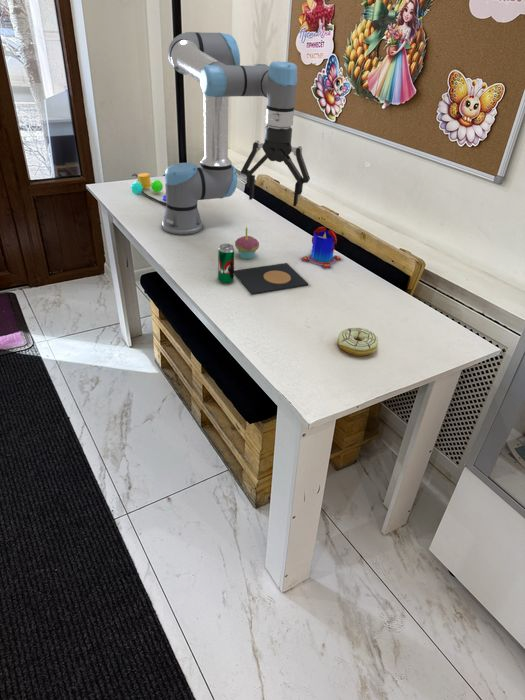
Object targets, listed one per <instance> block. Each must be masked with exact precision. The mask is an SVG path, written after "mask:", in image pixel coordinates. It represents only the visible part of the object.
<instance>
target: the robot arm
mask: <svg viewBox="0 0 525 700" xmlns="http://www.w3.org/2000/svg"><path fill="white" fill-rule="evenodd" d="M240 53H241V52H240V49H239V45H238V43H237V41H236V39H235V37H234V36H233V35H232V34H229V33H223V32H200V31H199V32H196V31H186V32H182V33H180V34H178V35H177V36H175V37H174V38H173V39H172V40H171V41H170V43H169V46H168V49H167V59H168V61H169V64H170V65H171V67H172V68H173V69H174V70H175V72H178V73H179V74H180V75H181V74H182V75H186V76H187V75H188V76H189V77H191V78H192V79H194V80H196V81H197V82H198V83H200V89H201V91H202V93H203V147H204V148H203V153H204V154H203V155H204V156H203V157H202V158H201V160H200V161H199V163H200V164H199V165H200V166H197V165H196V164H195V163H192V162H177V163H174V164H172V165H170V166H168V167H167V168H166V169H165V171H164V186H165V189H164V190H165V195H166V201H163V200H159V199H157V198H155V197H153V196H150V195H149V194H147V193H146V192H144V191H143V190H142V192H141V193H140V194H142V195H144V196H145V197H147V198H148V199H151V200H152V201H155V202H157V203H160V204H162V205H164V206H165V210H164V211H165V212H164V215H163V218H162V222H161V225H162V229H163V231H165V232H166V233H169V234H172V235H177V236H179V235H180V236H187V235H194V234H196V233H199V232H200V231H202V229H203V221H202V217H201V215H200V212H199V208H198V201H204V200H213V199H215V200H216V199H224V198H229V197H231V196H233V194H235V192H236V189H237V184H238V173H237V169H236V167H235V166H234V165H233V163H232V160H230V158H229V157H228V156H229V98H231V97H263V98H266V112H265V124H266V126H265V127H264V141H263V142H260V141H259V140H256V141H254V142H253V143H252V150H251V152H250V154H249V155H248V157H247V159H246V161H245V162H244V164H243V166H242V168H241V169H240V174H242V175H245V176H246V187H247V188H249V193H248V200H249V201H251V200H253V199H254V198H255V183H256V175H254V173H255V172H256V171H257V170H258V169H259V168H260V167H261V166H262V165H263V164H264V162H266V161H267V160H269V161H270V162H277V163H282V162H283V164H285V166H287V168H288V170H289V172H291V174H292V176H293V177H294V178H295V180H296V182H295V183H294V185H295V186H294V193H293V194H294V196H293V203H292V206H293V207H297V205H298V202H299V201H298V200H299V196H301V195H302V194H303V187H304V184H308V183H309V182H310V180H311V178H310V177H311V176H310V175H309V172H308V168H307V166H306V162H305V160H304V157H303V147H302V146H301V145H300V146H292V136H293V128H292V126H293V125H294V115H295V104H296V94H297V84H298V66H297V64H296V63H293V62H288V61H278V60H277V61H271V62H270V64H269V65H268V64H265V63H256V64H254V65H241V55H240ZM261 149H262V150H263V152H264V155H263V156H262V157H261V158H260V159H259V160H258V162H257V163H255V165H254V166H252V168H251V169H249V168H250V166H251V164H252V162H253V160H254V158H255V157H256V155H257V154H258V152H259V151H260V150H261ZM291 153H293V155H294V156H295V157H296V162H297V164H298V167H299V169H298V168H297V166H296V165H295V163H294V161H293V160H292V158H291V156H290V154H291ZM299 170H300V171H299ZM131 177H136V178H137V179H138V174H136V173H132V174H131Z"/></svg>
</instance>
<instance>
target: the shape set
mask: <svg viewBox="0 0 525 700" xmlns="http://www.w3.org/2000/svg"><path fill="white" fill-rule="evenodd" d="M137 175H138V178H137V180H138V181H134V182H133V183H131V185H130V190H131V191H132V193H134V194H135V195H138V194H142V193H141V192H142V191H143V189H148V188H151V190H152V192H154V193H160V192H162V191H163V189H164V185H163V182H162V181H161V180H157V179H154V180H153V181H152V182H151V176H150V173H148V172H141V173H138V174H137ZM161 199H162V200H161V201H162V202H166V194H165V195H163V196H162V198H161Z"/></svg>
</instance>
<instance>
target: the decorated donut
mask: <svg viewBox="0 0 525 700" xmlns="http://www.w3.org/2000/svg"><path fill="white" fill-rule="evenodd" d="M337 345H338V348H340V349H341V350H342V351H344V352H345V353H348V354H350V355H353V356H359V357H363V356H368V355H371V354H373V353H374V352H375V351H376V350H377V349H378V345H379V337H378V335H376V334H375V333H374V332H372V331H371V330H369V329H367V328H362V327H350V328H346V329H342V330H341V331H340V332H339V333H338V335H337Z"/></svg>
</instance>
